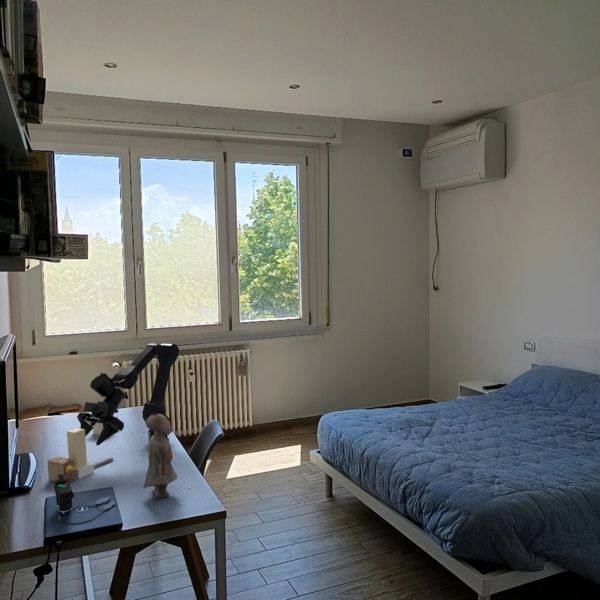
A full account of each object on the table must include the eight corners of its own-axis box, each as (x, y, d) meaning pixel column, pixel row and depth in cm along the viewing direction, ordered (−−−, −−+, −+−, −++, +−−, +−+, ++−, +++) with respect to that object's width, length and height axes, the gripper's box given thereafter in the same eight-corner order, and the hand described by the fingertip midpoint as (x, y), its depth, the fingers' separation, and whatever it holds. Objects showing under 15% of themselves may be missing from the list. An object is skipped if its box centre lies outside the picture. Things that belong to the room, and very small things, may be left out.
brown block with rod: (103, 458, 202) (102, 439, 202) (120, 462, 198) (118, 442, 198) (48, 480, 183) (47, 460, 182) (65, 485, 179) (64, 464, 178)
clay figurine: (182, 499, 164) (178, 416, 162) (148, 507, 160) (143, 422, 158) (172, 484, 176) (168, 407, 174) (140, 491, 171) (135, 412, 170)
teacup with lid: (117, 433, 233) (115, 406, 232) (94, 437, 229) (92, 409, 228) (111, 426, 243) (109, 400, 243) (89, 430, 239) (87, 403, 238)
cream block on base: (78, 468, 193) (75, 426, 192) (93, 472, 189) (91, 429, 188) (63, 474, 188) (60, 431, 187) (79, 478, 184) (76, 434, 183)
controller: (69, 502, 165) (67, 470, 164) (77, 518, 154) (74, 483, 154) (53, 506, 163) (51, 473, 162) (60, 522, 152) (58, 487, 152)
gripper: (78, 389, 199) (54, 428, 191) (115, 394, 190) (91, 435, 182) (98, 405, 207) (75, 443, 198) (134, 410, 198) (112, 451, 189)
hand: (87, 443), depth 192 cm, fingers open, 9 cm apart
